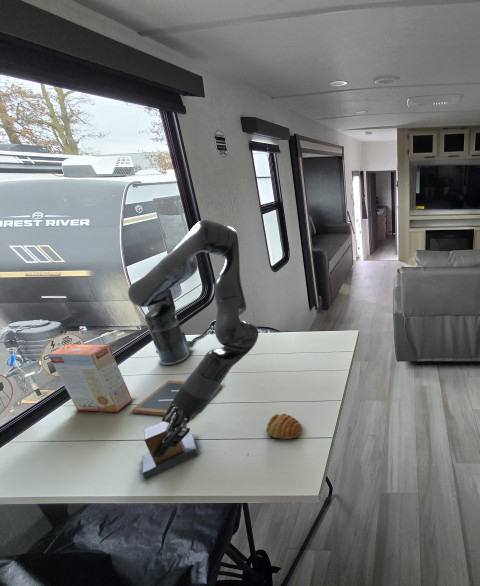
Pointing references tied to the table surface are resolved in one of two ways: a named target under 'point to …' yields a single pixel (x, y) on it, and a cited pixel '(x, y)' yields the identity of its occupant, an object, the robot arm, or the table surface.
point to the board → (160, 399)
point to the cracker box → (91, 377)
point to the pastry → (283, 427)
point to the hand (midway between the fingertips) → (156, 448)
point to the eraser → (172, 455)
